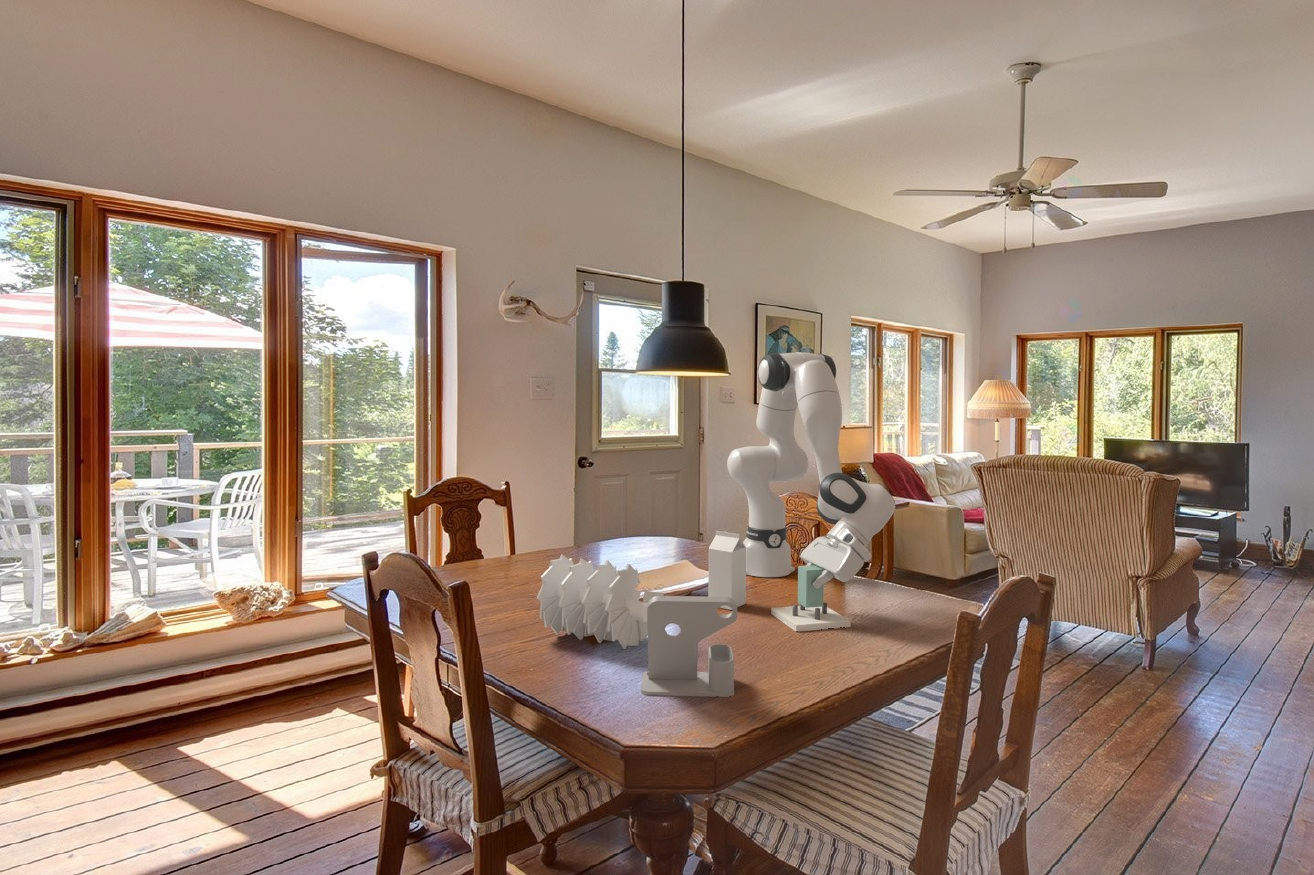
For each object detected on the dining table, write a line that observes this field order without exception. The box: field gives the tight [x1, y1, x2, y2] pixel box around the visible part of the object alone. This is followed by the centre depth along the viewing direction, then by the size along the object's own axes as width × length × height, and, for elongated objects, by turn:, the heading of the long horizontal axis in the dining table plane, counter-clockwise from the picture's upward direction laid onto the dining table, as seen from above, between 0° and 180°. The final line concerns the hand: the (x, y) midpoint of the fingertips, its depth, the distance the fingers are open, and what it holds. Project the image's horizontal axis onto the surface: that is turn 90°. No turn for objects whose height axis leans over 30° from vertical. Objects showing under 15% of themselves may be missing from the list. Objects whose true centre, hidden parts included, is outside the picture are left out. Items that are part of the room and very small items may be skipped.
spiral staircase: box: [536, 553, 664, 650], centre depth 161 cm, size 18×18×25 cm
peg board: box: [770, 601, 852, 632], centre depth 176 cm, size 14×14×4 cm
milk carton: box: [707, 530, 747, 611], centre depth 188 cm, size 7×7×19 cm
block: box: [797, 565, 825, 608], centre depth 175 cm, size 4×4×9 cm
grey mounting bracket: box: [640, 595, 738, 698], centre depth 136 cm, size 17×10×18 cm, turn 88°
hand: (808, 583), depth 175 cm, fingers closed on block, 4 cm apart
